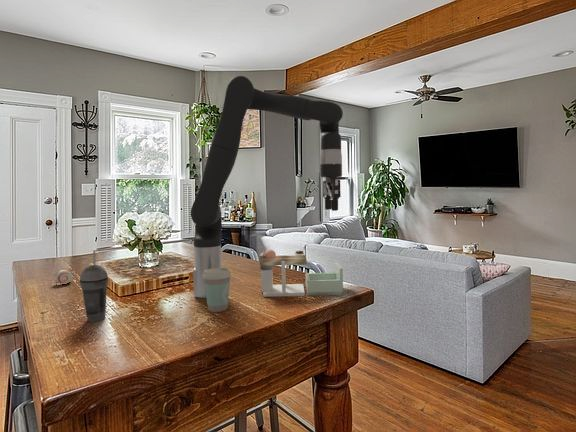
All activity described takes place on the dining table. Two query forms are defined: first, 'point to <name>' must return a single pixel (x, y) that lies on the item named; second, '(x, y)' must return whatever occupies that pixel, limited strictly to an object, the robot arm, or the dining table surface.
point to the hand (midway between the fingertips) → (331, 210)
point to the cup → (325, 282)
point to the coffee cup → (217, 288)
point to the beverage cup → (94, 291)
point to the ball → (270, 254)
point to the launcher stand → (282, 289)
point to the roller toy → (63, 276)
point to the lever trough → (289, 260)
